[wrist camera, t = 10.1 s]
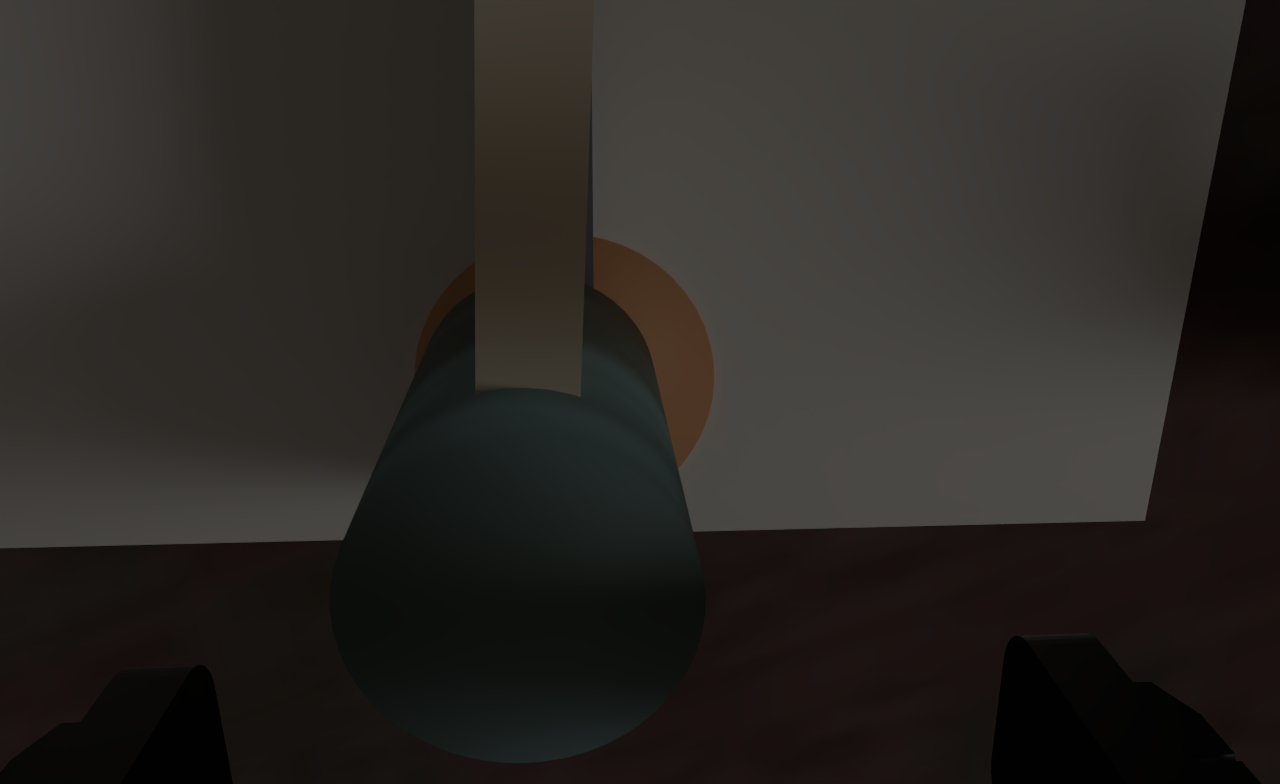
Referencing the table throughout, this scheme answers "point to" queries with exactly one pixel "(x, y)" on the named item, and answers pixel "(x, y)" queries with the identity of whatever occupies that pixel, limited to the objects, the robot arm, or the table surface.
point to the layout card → (604, 251)
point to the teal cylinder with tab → (525, 459)
